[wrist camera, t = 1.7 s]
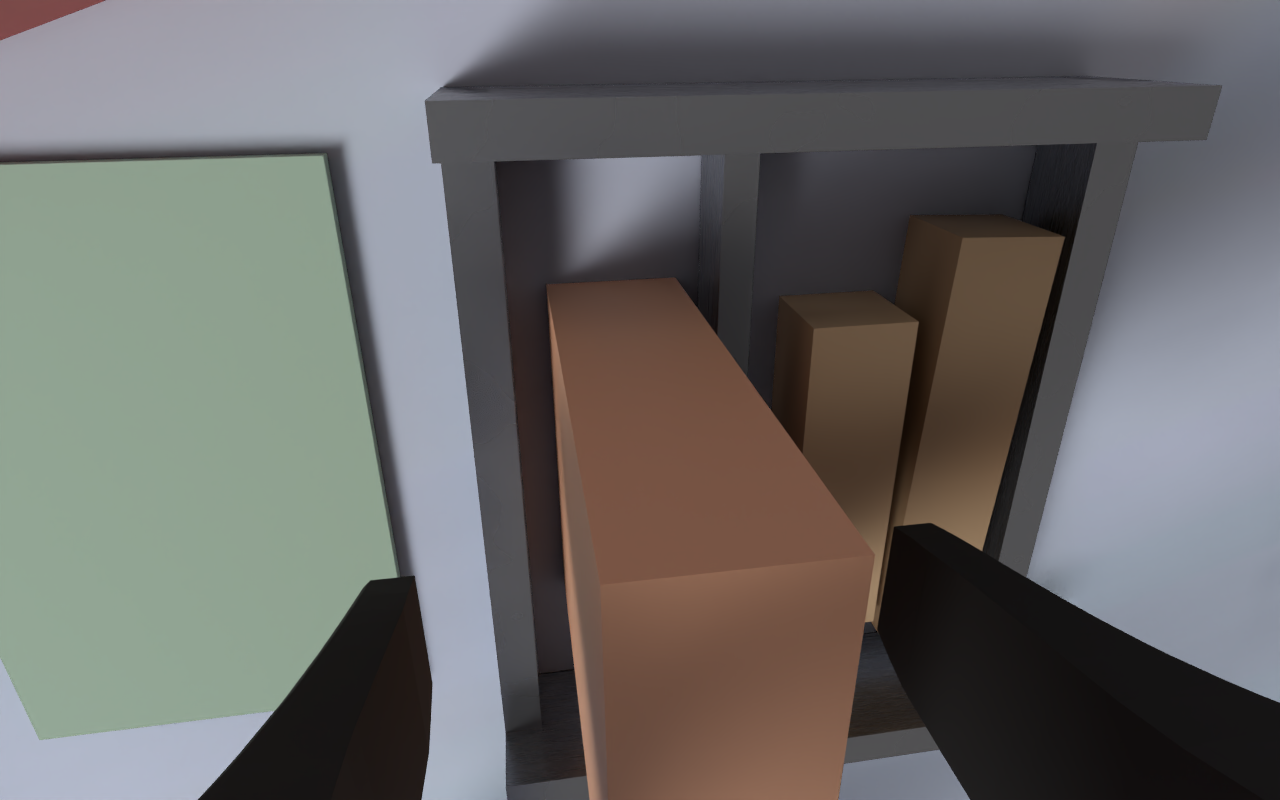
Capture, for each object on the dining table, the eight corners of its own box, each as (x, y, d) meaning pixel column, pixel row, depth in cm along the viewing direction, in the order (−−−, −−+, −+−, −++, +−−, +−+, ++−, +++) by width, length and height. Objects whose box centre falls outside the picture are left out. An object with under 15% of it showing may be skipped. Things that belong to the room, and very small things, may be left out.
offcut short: (834, 560, 19) (873, 621, 17) (756, 569, 19) (786, 631, 17) (867, 286, 16) (918, 321, 14) (775, 292, 16) (813, 328, 14)
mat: (418, 683, 18) (417, 692, 18) (46, 729, 17) (39, 740, 17) (326, 153, 13) (322, 155, 13) (-215, 168, 12) (-232, 171, 12)
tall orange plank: (671, 568, 18) (807, 998, 10) (564, 579, 18) (616, 1034, 10) (674, 277, 15) (874, 554, 7) (546, 284, 15) (600, 585, 7)
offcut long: (915, 568, 20) (961, 627, 18) (840, 574, 19) (880, 636, 17) (994, 211, 16) (1064, 236, 14) (903, 212, 15) (962, 237, 14)
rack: (962, 644, 21) (1031, 735, 18) (508, 703, 19) (509, 813, 16) (1089, 75, 15) (1222, 85, 12) (441, 87, 13) (424, 100, 10)
